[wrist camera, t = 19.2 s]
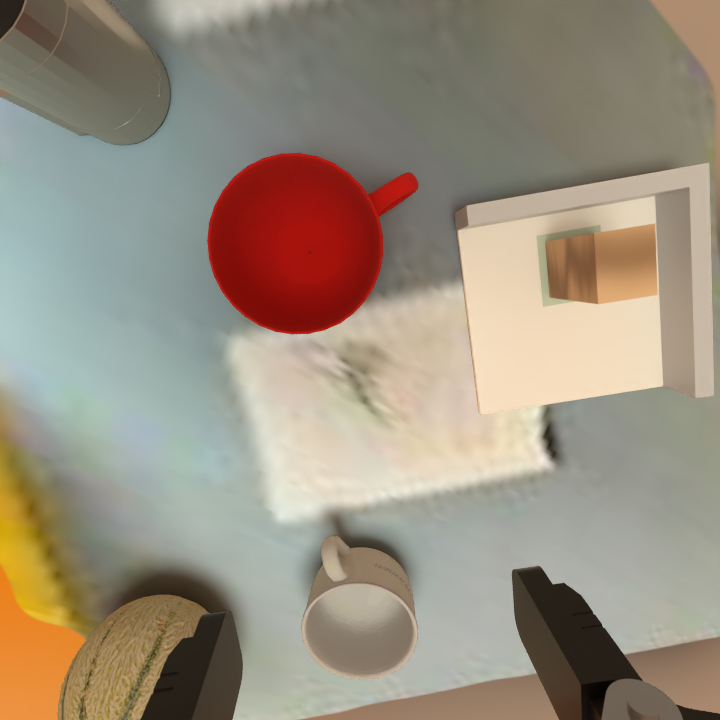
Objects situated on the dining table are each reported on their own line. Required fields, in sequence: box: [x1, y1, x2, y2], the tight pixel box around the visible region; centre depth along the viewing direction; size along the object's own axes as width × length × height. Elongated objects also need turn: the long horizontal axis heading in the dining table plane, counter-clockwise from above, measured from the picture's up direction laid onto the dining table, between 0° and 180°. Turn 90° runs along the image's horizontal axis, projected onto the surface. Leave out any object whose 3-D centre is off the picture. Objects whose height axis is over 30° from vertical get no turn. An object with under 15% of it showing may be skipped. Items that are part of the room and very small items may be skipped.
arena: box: [454, 163, 714, 415], centre depth 41 cm, size 20×20×5 cm
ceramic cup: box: [207, 153, 418, 334], centre depth 38 cm, size 13×17×10 cm
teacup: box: [301, 536, 418, 680], centre depth 45 cm, size 14×11×8 cm
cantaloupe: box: [57, 595, 209, 720], centre depth 43 cm, size 15×15×15 cm
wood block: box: [545, 224, 658, 304], centre depth 38 cm, size 5×5×9 cm
